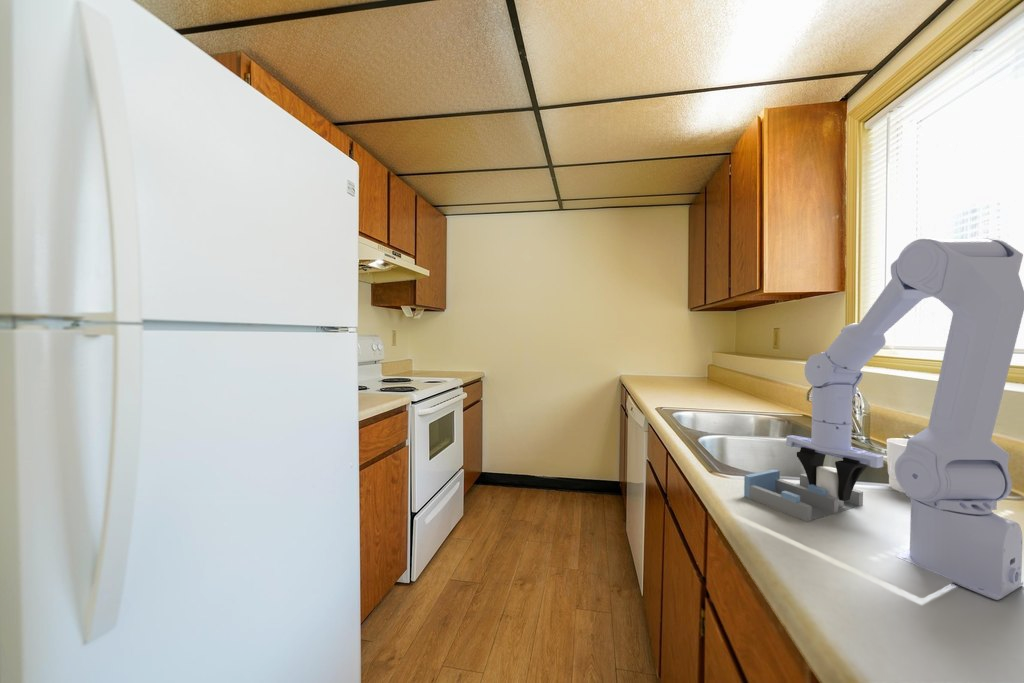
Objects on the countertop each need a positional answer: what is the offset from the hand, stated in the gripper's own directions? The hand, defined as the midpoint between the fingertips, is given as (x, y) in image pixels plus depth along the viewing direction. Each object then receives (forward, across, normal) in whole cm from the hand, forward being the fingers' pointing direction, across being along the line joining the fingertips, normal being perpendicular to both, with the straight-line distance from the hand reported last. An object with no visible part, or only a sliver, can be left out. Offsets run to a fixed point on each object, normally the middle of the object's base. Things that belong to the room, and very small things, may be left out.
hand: (829, 494), depth 73 cm
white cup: (+2, -3, -22) cm, 23 cm away
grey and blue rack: (+2, +2, +4) cm, 5 cm away
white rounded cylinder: (+1, 0, 0) cm, 1 cm away
